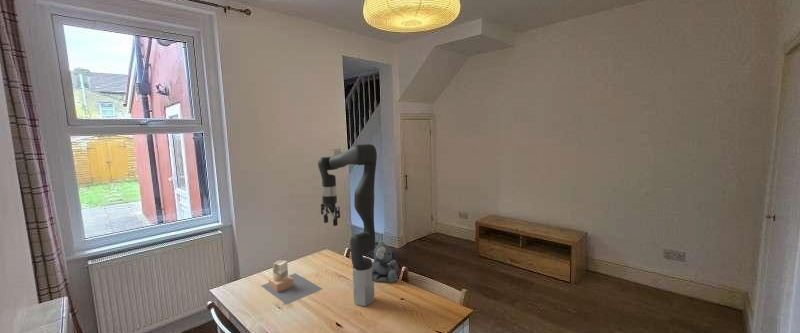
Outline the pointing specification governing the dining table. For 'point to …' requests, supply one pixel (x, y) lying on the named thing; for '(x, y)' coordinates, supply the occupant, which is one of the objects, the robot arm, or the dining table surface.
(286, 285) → the terracotta brick
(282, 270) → the cream block
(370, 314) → the dining table surface
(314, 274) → the dining table surface
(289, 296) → the building mat
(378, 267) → the koala plush
